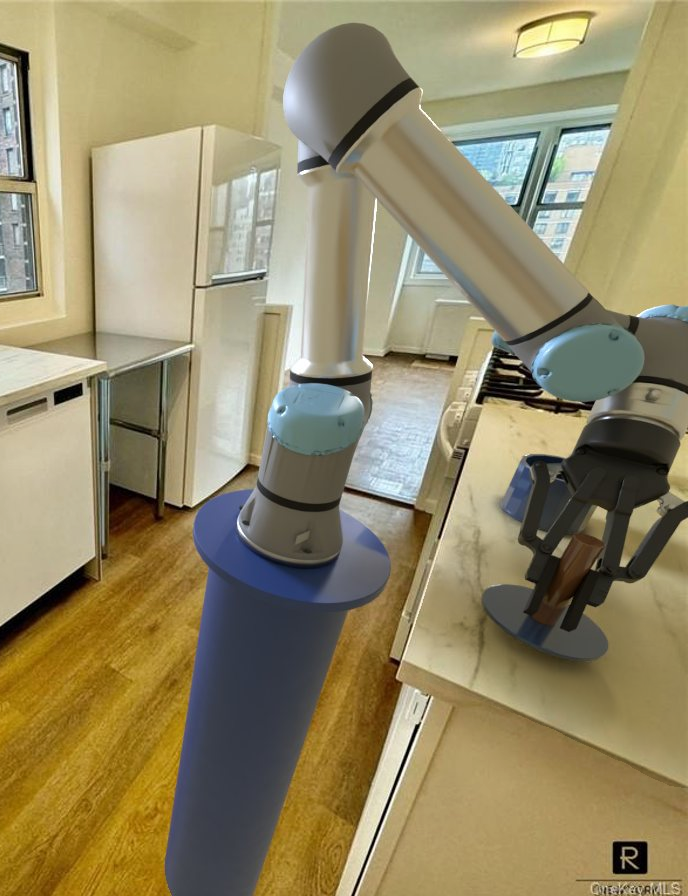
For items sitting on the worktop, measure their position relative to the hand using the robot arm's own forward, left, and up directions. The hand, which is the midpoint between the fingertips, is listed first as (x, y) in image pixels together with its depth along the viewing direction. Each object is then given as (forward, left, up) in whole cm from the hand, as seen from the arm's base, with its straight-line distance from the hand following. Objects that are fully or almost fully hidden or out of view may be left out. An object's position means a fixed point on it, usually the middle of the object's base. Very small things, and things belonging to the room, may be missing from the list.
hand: (548, 619), depth 51 cm
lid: (0, +4, -3) cm, 5 cm away
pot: (-2, +36, -5) cm, 36 cm away
